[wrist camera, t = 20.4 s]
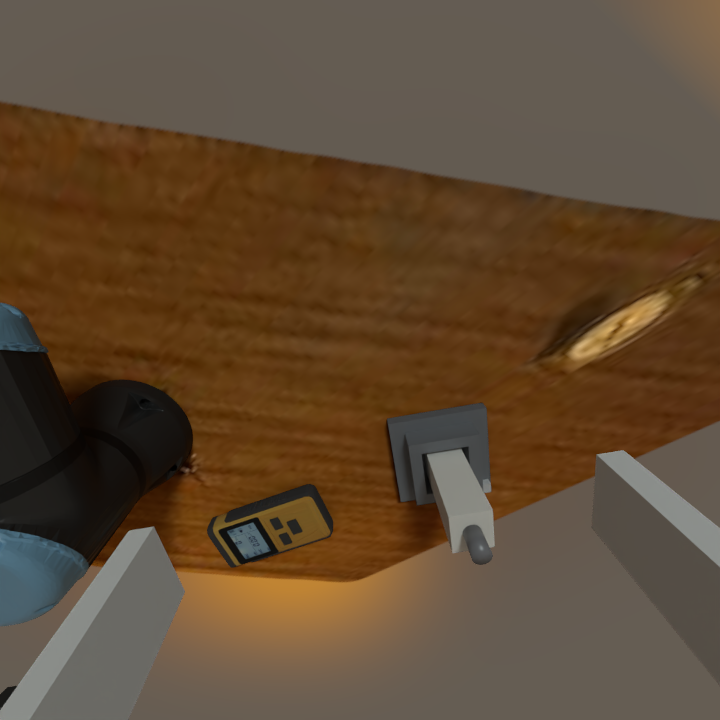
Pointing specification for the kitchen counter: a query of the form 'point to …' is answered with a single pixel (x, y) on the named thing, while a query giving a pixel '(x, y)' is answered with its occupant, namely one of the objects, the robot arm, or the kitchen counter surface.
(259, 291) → the kitchen counter surface
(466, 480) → the plug
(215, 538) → the electronic device
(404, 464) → the socket
